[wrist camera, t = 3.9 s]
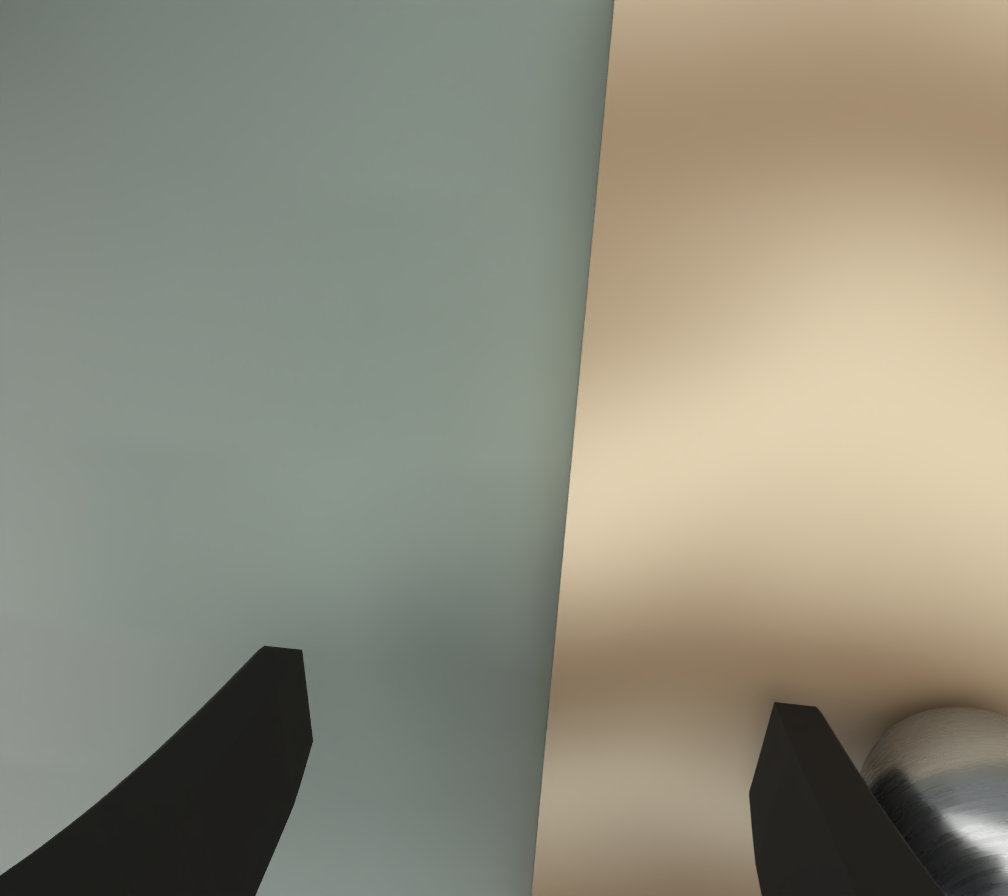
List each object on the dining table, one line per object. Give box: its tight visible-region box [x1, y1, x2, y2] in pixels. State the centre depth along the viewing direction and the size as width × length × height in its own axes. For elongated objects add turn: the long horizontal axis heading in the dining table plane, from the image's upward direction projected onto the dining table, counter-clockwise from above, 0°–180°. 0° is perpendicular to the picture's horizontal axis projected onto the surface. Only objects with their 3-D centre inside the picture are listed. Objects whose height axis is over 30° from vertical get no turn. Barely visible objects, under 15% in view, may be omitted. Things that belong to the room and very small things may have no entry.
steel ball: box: [860, 706, 1008, 896], centre depth 11 cm, size 3×3×3 cm
